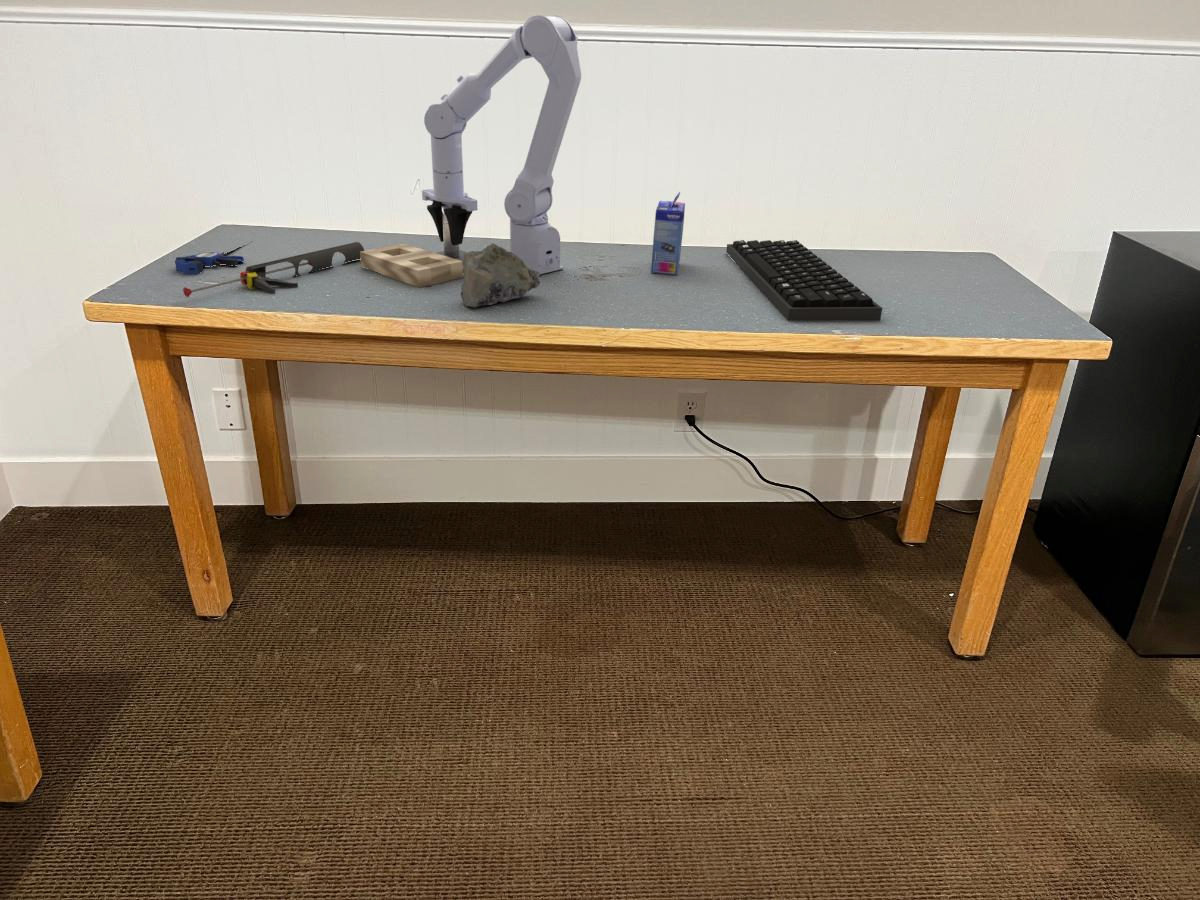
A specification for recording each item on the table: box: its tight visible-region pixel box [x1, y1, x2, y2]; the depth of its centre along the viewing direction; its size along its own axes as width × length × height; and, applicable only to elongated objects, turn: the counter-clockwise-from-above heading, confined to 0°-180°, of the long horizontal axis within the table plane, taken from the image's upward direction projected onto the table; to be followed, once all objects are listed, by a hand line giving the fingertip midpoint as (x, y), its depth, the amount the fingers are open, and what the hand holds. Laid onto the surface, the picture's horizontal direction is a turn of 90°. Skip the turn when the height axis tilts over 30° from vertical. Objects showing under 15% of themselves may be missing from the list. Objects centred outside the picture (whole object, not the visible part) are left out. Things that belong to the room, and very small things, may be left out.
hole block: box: [360, 243, 464, 288], centre depth 162 cm, size 18×10×3 cm, turn 47°
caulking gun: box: [182, 241, 365, 298], centre depth 155 cm, size 4×37×10 cm
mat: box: [436, 249, 466, 265], centre depth 172 cm, size 10×10×1 cm
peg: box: [442, 205, 460, 259], centre depth 170 cm, size 3×3×10 cm
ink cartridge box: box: [650, 191, 686, 276], centre depth 168 cm, size 10×6×14 cm, turn 173°
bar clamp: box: [174, 251, 245, 275], centre depth 172 cm, size 32×2×10 cm
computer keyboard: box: [725, 239, 883, 322], centre depth 163 cm, size 45×16×4 cm, turn 6°
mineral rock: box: [460, 243, 541, 308], centre depth 145 cm, size 13×11×10 cm
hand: (451, 242), depth 171 cm, fingers closed on peg, 3 cm apart
